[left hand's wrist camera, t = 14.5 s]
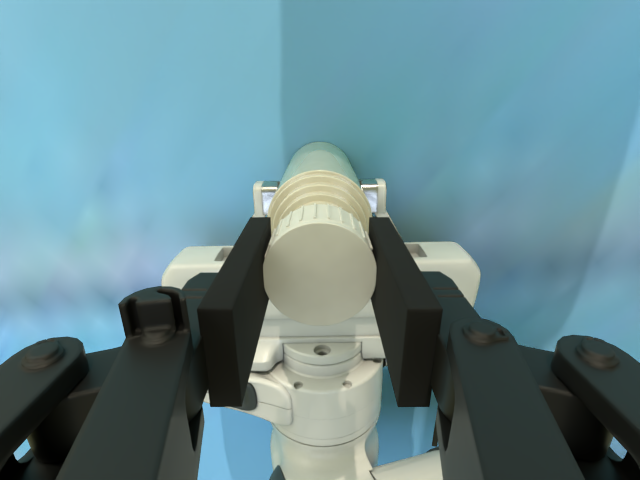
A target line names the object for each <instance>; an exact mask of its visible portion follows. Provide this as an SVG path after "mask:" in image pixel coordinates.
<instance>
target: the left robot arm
mask: <svg viewBox="0 0 640 480" xmlns="http://www.w3.org/2000/svg"><path fill="white" fill-rule="evenodd" d="M368 236H369V239H370V241H371V244H372V247H373V250H372V252H373V255H374V258H375V261H376V266H377V272H376V286H375V290H374V292H373V295H372V297H371V298H370V299H371V302H372V306H373V310H374V314H375V318H376V322H377V326H378V330H379V334H380V338H381V342H382V346H383V350H384V354H385V358H386V362H387V366H388V370H389V373H390V377H391V381H392V385H393V389H394V393H395V397H396V401H397V405H398V407H429V406H430V398H431V391H432V390H433V392H434V395H435V397H436V400H437V403H438V408H437V415H436V421H435V428H434V435H433V442H432V446H436V447H437V443H438V444H439V452H440V460H441V468H442V476H443V480H640V363H639V362H638V361H636V360H635V359H634V358H633V357H631V356H630V355H629V354H627V353H626V352H624V351H622V350H621V349H619V348H618V347H616V346H614V345H612V344H609V343H607V342H605V341H603V340H601V339H598V338H593V337H590V336H579V335H570V336H564V337H562V338H561V339H560V340H558V342H557V345H556V349H555V352H550V351H545V350H540V349H535V348H530V347H525V346H521V345H518V344H517V342H516V340H515V338H514V337H513V336H512V334H511V333H510V332H509V331H508V330H507V329H505V328H504V327H502V326H501V325H499V324H497V323H494V322H492V321H489V320H486V319H481V318H480V317H479V315H478V314H477V312H476V311H475V310H474V308H473V307H472V306H471V304H470V303H469V302H468V300H467V299H466V297H464V295H463V293H462V292H461V291H460V290H459V289H458V287H457V285H456V284H455V283H454V281H453V280H452V279H451V278H450V277H448V276H446V275H445V274H443V273H441V272H440V271H420V269H419V267H418V266H417V264H416V262H415V261H414V259H413V257H412V255H411V254H410V252H409V250H408V249H407V247H406V245H405V244H404V242H403V240H402V238H401V237H400V235H399V233H398V232H397V230H396V228H395V227H394V225H393V223H392V221H391V220H390V218H389V217H369V231H368ZM270 239H271V217H251V218H250V219H249V221H248V223H247V224H246V226H245V228H244V230H243V231H242V233H241V235H240V236H239V238H238V240H237V241H236V243H235V245H234V247H233V248H232V250H231V252H230V253H229V255H228V257H227V258H226V260H225V262H224V264H223V265H222V267H221V269H220V270H219V272H200V273H199V274H197V275H196V276H194V277H192V278H191V279H189V280H188V281H187V282H186V284H185V285H184V286H183V288H182V289H180V288H176V287H172V286H158V287H152V288H146V289H143V290H140V291H137V292H134V293H133V294H131V295H129V296H127V297H125V298H124V299H123V300H122V301H121V302H120V303H119V304H118V305H119V310H120V314H121V319H122V323H123V327H124V332H125V336H126V339H125V341H124V343H123V345H122V346H121V347H117V348H113V349H108V350H103V351H98V352H93V353H88V354H86V353H85V350H84V346H83V343H82V342H81V341H80V340H78V339H77V338H72V337H58V338H50V339H47V340H46V339H45V340H42V341H39V342H37V343H35V344H33V345H30V346H28V347H26V348H24V349H22V350H21V351H19V352H18V353H16V354H14V355H13V356H11V357H10V358H9V359H8V360H6V361H5V362H4V363H3V364H1V365H0V480H197V477H198V469H199V461H200V453H201V445H202V437H203V429H204V415H203V408H202V404H203V401H204V399H205V396H206V393H207V391H208V393H209V400H210V407H242V404H243V400H244V396H245V392H246V388H247V384H248V380H249V376H250V372H251V369H252V365H253V361H254V357H255V353H256V349H257V345H258V341H259V337H260V333H261V329H262V325H263V321H264V317H265V313H266V309H267V306H268V302H269V297H268V295H267V293H266V291H265V288H264V276H263V263H264V260H265V254H266V251H267V248H268V244H269V241H270ZM613 436H614V437H615V438H616V439H617V440H618V442H619V443H620V444H621V445H622V446H623V447H624V448H625V449H626V450H627V453H626V455H625V458H624V459H621V458H620V457H619V456H618V455H617V454H616V453H615V452H614V451H613V450H612V449H611V448H610V447H609V446H610V444H611V441H612V439H613ZM26 439H27V440H28V442H29V445H30V447H31V449H30V450H29V451H28V452H27V453H26V454H25V455H24V456H23V457H22V458H21V459H19V460H18V461H17V460H16V459H15V456H14V454H13V453H14V452H15V451H16V449H17V448H18V447H19V446H20V445H21V444H22V443H23V442H24V441H25V440H26Z"/></svg>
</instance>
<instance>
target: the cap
mask: <svg viewBox="0 0 640 480" xmlns="http://www.w3.org/2000/svg"><path fill="white" fill-rule="evenodd" d="M372 250H373V247H372V244H371V241H370V239H369V236H368V233H367V231H365V230H364V228H363V226H362V223H361V222H360V221H359V222H358V220H357V219H356V218H355V217H353V214H352V213H348V212H346V211H345V210H343V209H342V208H341V207H339V208H338V207H335V206H331V205H329V204H327V205H325V204H316V203H314V205H309V206H301V208H299V209H297V210H295V211H293V212H292V211H291V212H290V214H289V215H287V216H286V217H285V218H284V219H281V220H280V223H279V225H278V226H277V228H274V230H273V233H272V236H271V239H270V241H269V244H268V248H267V251H266V254H265V260H264V263H263V276H264V288H265V291H266V293H267V295H268V297H269V299H270V301H271V302H272V303H273V305H274V306H275V307H276V308H277V309H278V310H279V311H280V312H281V313H283V314H284V315H285V316H287V317H289V318H290V319H292V320H294V321H297V322H299V323H303V324H307V325H313V326H326V325H333V324H337V323H340V322H343V321H345V320H347V319H349V318H351V317H353V316H354V315H356V314H357V313H358V312H360V311H361V310H362V309H363V308H364V307H365V305H366V304H367V303H368V302H369V300H370V298H371V297H372V295H373V292H374V290H375V286H376V272H377V266H376V261H375V258H374V255H373V252H372Z"/></svg>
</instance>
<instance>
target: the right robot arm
mask: <svg viewBox="0 0 640 480" xmlns="http://www.w3.org/2000/svg"><path fill="white" fill-rule="evenodd" d="M359 182H360V184H361V187H362V189H363V191H364V193H365V195H366V197H367V199H368V201H369V204H370V207H371V211H372V213H375V215H376V217H389V218H390V216H389V215H388V213H387V211H386V182H385V181H384V180H383V179H360V180H359ZM279 183H280V181H256V182H255V184H254V186H253V198H254V209H255V213H254V215H253V216H252V217H265V216H266V215H268V209H269V205H270V203H271V200H272V198H273V196H274V194H275V192H276V190H277V188H278V186H279ZM390 220H391V218H390ZM391 221H392V220H391ZM392 223H393V222H392ZM393 225H394V224H393ZM394 227H395V225H394ZM395 228H396V227H395ZM396 230H397V229H396ZM397 232H398V231H397ZM399 235H400V234H399ZM400 237H401V236H400ZM404 244H405V245H406V247H407V249H408V250H409V252H410V254H411V255H412V257H413V259H414V261H415V262H416V264H417V266H418V267H419V269H420V271H440V272H441V273H443V274H445V275H446V276H448V277H450V278H451V279H452V280H453V281H454V283H455V284H456V285H457V287H458V289H459V290H460V291H461V292H462V293H463V295H464V297H466V299H467V300H468V302H469V303H470V304H471V306H472V307H474V304H475V300H476V296H477V292H478V288H479V283H480V276H481V273H480V269H479V267H478V265H477V264H476V262H475V261H474V260H473V258H472V257H471V256H470V255H469V254H468V253H467V252H466V251H465V250H464V249H463V248H462V247H461V246H460V245H459V244H457V243H455V242H449V241H447V242H404ZM233 247H234V246H191V247H186V248H185V249H183V250H182V251H181V252H180V253H179V254H178V255H177V256H176V257H175V258H174V259H173V260H172V261H171V263H170V264H169V265H168V267H167V268H166V270H165V272H164V273H163V276H162V286H172V287H176V288H180V289H182V288H183V286H184V285H185V284H186V282H187V281H188V280H189V279H191V278H192V277H194V276H196V275H197V274H199V273H200V272H219V270H220V269H221V267H222V265H223V264H224V262H225V260H226V258H227V257H228V255H229V253H230V252H231V250H232V248H233ZM384 366H387V362H386V358H385V354H384V350H383V346H382V342H381V338H380V334H379V330H378V326H377V322H376V318H375V314H374V310H373V306H372V302H371V299H370V300H369V302H368V303H367V304H366V305H365V307H364V308H363V309H362V310H361V311H360V312H358V313H357V314H356V315H354V316H353V317H351V318H349V319H347V320H345V321H343V322H340V323H337V324H333V325H326V326H313V325H307V324H303V323H299V322H297V321H294V320H292V319H290V318H289V317H287V316H285V315H284V314H283V313H281V312H280V311H279V310H278V309H277V308H276V307H275V306H274V305H273V303H272V302H271V301H270V299H269V302H268V306H267V309H266V313H265V317H264V321H263V325H262V329H261V333H260V337H259V341H258V345H257V349H256V353H255V357H254V361H253V365H252V369H251V372H250V376H249V380H248V384H247V388H246V392H245V396H244V400H243V404H242V407H226V408H230V409H234V410H238V411H242V412H245V413H248V414H251V415H254V416H257V417H260V418H262V419H265V420H267V421H270V422H271V424H272V426H273V430H272V434H271V446H270V447H271V459H272V466H273V473H272V475H271V477H270V479H269V480H443V476H442V468H441V460H440V452H439V446H438V447H436V448H433V449H430V450H429V451H427V452H426V453H424V454H420V455H416V456H413V457H409V458H406V459H402V460H398V461H395V462H391V463H387V464H384V465H380V466H377V465H378V454H379V440H378V433H377V429H376V424H377V421H378V418H379V415H380V410H381V395H382V377H383V367H384ZM203 402H206V403H209V404H210V400H209V393H208V391H207V393H206V396H205V399H204V401H203Z"/></svg>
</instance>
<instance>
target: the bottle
mask: <svg viewBox="0 0 640 480" xmlns="http://www.w3.org/2000/svg"><path fill="white" fill-rule="evenodd" d="M314 203H316V204H325V205H327V204H329V205H331V206H335V207H338V208H339V207H341V208H342V209H343V210H345V211H346V212H348V213H352V214H353V217H355V218H356V219H357V220H358V222H359V221H360V222H361V223H362V226H363V228H364V230H365V231H367V233H368V231H369V217H372V211H371V207H370V204H369V201H368V199H367V197H366V195H365V193H364V191H363V189H362V187H361V184H360V182H359V180H358V178H357V176H356V174H355V172H354V170H353V168H352V166H351V164H350V162H349V160H348V158H347V156H346V155H345V153H344V152H343V151H342V150H341V149H340V148H338V147H337V146H335V145H333V144H330V143H327V142H313V143H309V144H307V145H305V146H303V147H302V148H300V149H299V150H298V151H297V152H296V153H295V154H294V155H293V157H292V159H291V161H290V163H289V165H288V167H287V169H286V171H285V173H284V175H283V177H282V179H281V181H280V183H279V186H278V188H277V190H276V192H275V194H274V196H273V198H272V200H271V203H270V205H269V209H268V215H267V217H271V236H272V233H273V230H274V228H277V226H278V225H279V223H280V220H281V219H284V218H285V217H286V216H287V215H289V214H290V212H291V211H292V212H293V211H295V210H297V209H299V208H301V206H309V205H314Z"/></svg>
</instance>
